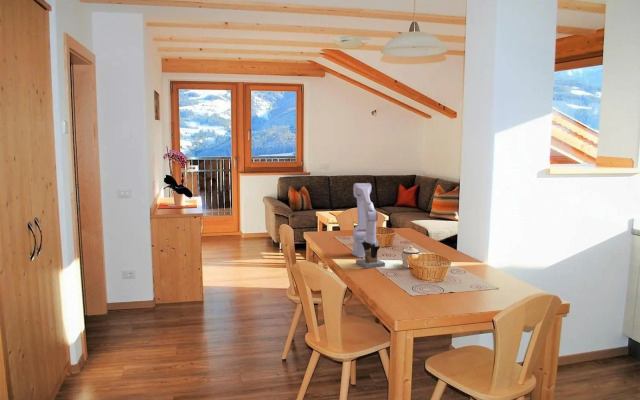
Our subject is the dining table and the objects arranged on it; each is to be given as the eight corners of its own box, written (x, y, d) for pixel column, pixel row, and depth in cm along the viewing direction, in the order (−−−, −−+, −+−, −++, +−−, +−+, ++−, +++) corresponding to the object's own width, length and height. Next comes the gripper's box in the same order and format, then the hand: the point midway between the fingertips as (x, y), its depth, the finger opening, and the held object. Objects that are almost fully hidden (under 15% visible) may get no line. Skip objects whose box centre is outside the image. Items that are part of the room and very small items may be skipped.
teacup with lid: (422, 267, 273) (422, 246, 271) (409, 269, 269) (409, 248, 267) (408, 262, 283) (408, 242, 282) (395, 264, 279) (396, 244, 277)
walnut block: (364, 260, 279) (365, 250, 278) (372, 259, 281) (372, 249, 280) (369, 262, 274) (369, 252, 274) (377, 261, 276) (377, 251, 275)
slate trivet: (355, 263, 281) (355, 259, 281) (374, 261, 286) (374, 257, 285) (365, 268, 270) (365, 265, 270) (384, 266, 275) (384, 262, 274)
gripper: (383, 234, 270) (383, 258, 272) (370, 229, 283) (370, 252, 285) (372, 235, 267) (371, 259, 269) (359, 230, 281) (359, 253, 282)
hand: (370, 256), depth 277 cm, fingers open, 7 cm apart
